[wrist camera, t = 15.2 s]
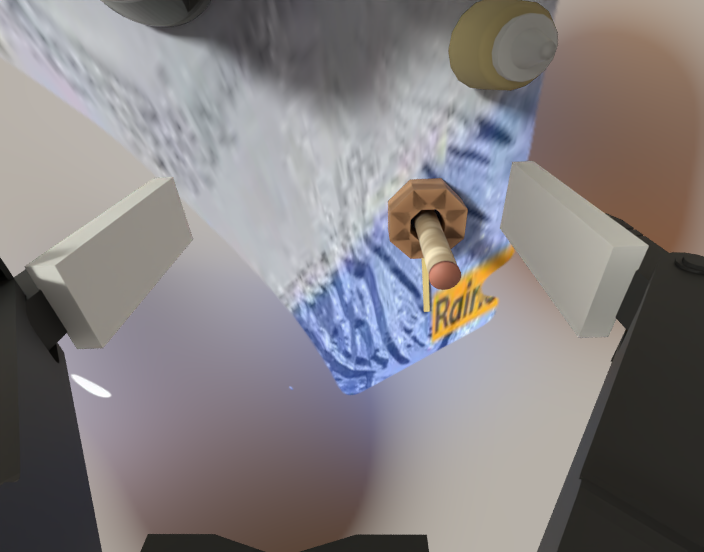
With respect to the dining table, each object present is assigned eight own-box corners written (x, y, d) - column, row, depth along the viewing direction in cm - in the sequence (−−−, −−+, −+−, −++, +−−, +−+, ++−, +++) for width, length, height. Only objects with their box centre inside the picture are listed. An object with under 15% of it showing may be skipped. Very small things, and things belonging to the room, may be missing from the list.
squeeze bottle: (511, 81, 43) (592, 106, 28) (440, 89, 43) (483, 118, 28) (521, -6, 38) (624, -32, 23) (442, 5, 39) (494, -14, 24)
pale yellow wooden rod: (429, 309, 61) (429, 311, 61) (423, 310, 61) (424, 311, 61) (427, 252, 55) (427, 254, 55) (421, 253, 56) (421, 255, 55)
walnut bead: (388, 245, 55) (389, 259, 52) (388, 180, 49) (390, 191, 46) (455, 243, 54) (461, 256, 51) (463, 177, 49) (470, 187, 46)
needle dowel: (411, 225, 53) (428, 290, 40) (412, 204, 51) (430, 264, 38) (434, 225, 53) (459, 289, 40) (436, 203, 51) (462, 263, 38)
